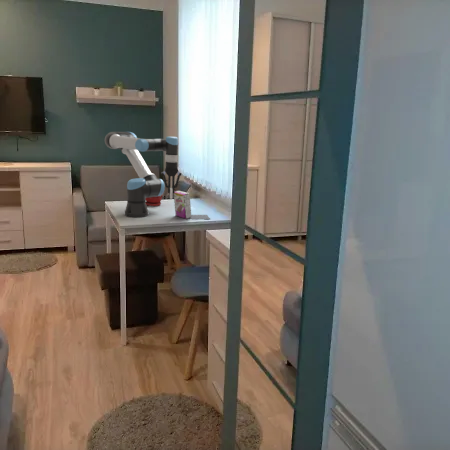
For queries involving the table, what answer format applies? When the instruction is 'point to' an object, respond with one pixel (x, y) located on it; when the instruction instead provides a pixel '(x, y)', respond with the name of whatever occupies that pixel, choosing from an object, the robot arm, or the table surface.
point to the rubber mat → (199, 217)
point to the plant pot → (153, 201)
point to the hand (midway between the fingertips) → (171, 198)
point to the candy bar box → (182, 204)
